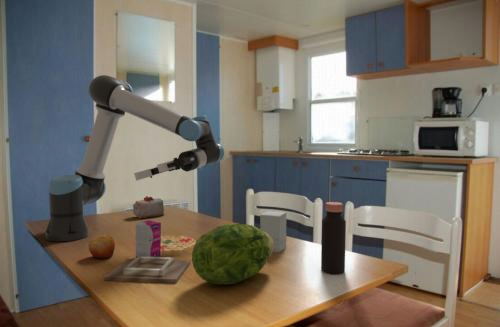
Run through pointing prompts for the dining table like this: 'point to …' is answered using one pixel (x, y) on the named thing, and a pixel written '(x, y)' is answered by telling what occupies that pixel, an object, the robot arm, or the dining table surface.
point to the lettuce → (231, 253)
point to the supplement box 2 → (275, 228)
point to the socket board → (149, 270)
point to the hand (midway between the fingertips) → (146, 172)
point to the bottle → (333, 239)
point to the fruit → (102, 246)
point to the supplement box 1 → (148, 239)
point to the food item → (148, 208)
